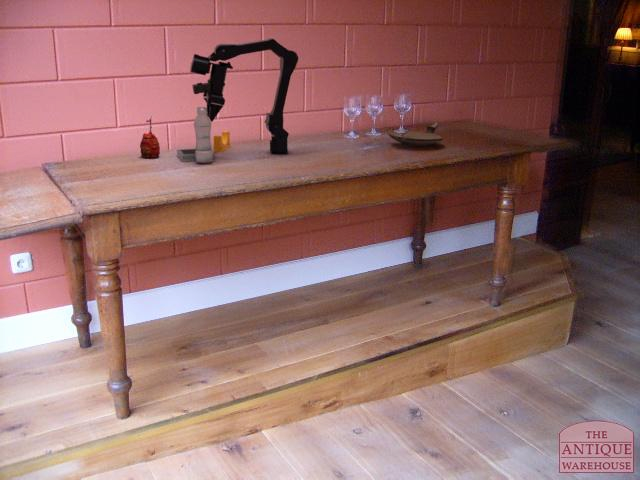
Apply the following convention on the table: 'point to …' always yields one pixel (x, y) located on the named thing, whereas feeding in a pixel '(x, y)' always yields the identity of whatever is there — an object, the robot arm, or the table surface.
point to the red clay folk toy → (149, 144)
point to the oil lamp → (418, 137)
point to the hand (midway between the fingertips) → (209, 119)
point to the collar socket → (188, 155)
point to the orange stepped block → (222, 142)
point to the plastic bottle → (203, 136)
